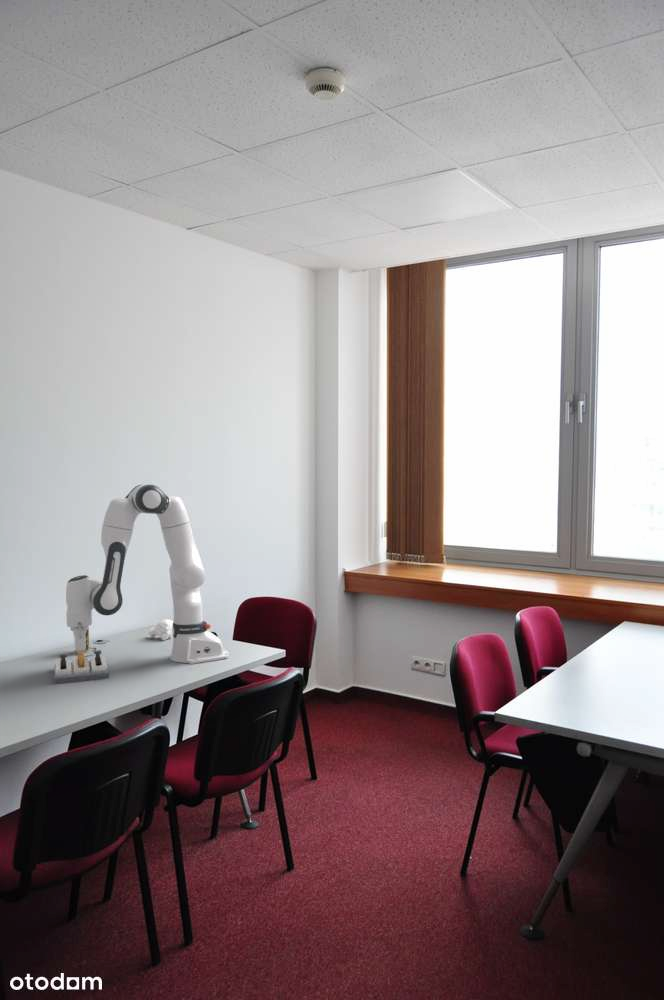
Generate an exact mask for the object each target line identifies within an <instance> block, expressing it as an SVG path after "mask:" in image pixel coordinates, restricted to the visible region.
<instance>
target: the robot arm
mask: <svg viewBox="0 0 664 1000" xmlns="http://www.w3.org/2000/svg"><path fill="white" fill-rule="evenodd" d="M141 514H149V515H150V514H155V515H156V517H157V518H158V521H159V525H160V530H161V532H162V536H163V540H164V545H165V549H166V550H167V551H166V552H167V553H168V557H169V558H170V561H171V563H170V565H169V579H170V580H169V581H170V588H171V594H172V595H171V596H172V605H173V608H172V609H173V613H172V614H173V626H172V633H173V635H172V638H173V641H172V647H171V648H172V649H171V655H170V661H173V662H176V663H184V664H191V665H193V664H198V663H199V664H200V663H205V662H212V661H217V660H218V661H219V660H224V658H225V659H228V658H229V657H230V653H229V651H228V650H226V649H225V648H224V647H223V646H224V645H223V643H222V642H223V641H222V640H221V638H219V637H218V636H217V635H215V634H214V633H212V632H211V631H210V630H209V629H211V624H210V623H209V622H206V621H205V620H203V599H202V594H201V589H200V587H202V586H203V584H204V583H205V581H206V576H207V575H206V570H205V567H204V565H203V561H202V559H201V555H200V553H199V550H198V546H197V544H196V541H195V538H194V534H193V533H194V532H193V530H192V526H191V520H190V517H189V515H188V511H187V509H186V506H185V503H184V502H183V500H182V498H181V497H179V496H176V495H167V494H166V493H165V492H164V491H163V490H162V489H161V488H160V487H159V486H157V485H154V484H151V483H142V484H138V485H136V486H135V487H133V488H132V489H131V490H130V492H129V493H128V494H126V496H125V497H117V498H113V499H111V501H110V502H109V504H108V507H107V509H106V512H105V514H104V517H103V522H102V525H101V527H102V528H101V535H100V536H101V538H100V539H101V540H100V542H101V546H102V549H103V552H104V556H105V564H104V570H103V571H104V572H103V577H102V581H99V580H97V579H93V578H91V577H90V576H89V575H86V574H85V575H77V576H74V577H71V578H70V579H69V580H67V583H66V586H65V587H66V588H65V602H66V607H67V609H66V612H65V613H66V617H65V618H66V626H67V627H68V628H69V629H70V631H71V632H73V638H74V649H75V652H76V651H77V652H78V654H77V655H80V654H83V651H85V650H86V632H85V630H88V629H90V628H89V627H90V626H91V625H93V609H94V610H95V611H96V612H97V613H98V614H100V615H103V616H111V615H114V614H116V613H117V612H119V611H120V609H121V608H122V605H123V602H124V601H123V599H124V598H123V596H122V591H121V583H122V577H123V573H124V572H123V571H124V565H125V559H126V555H127V552H128V549H129V546H130V542H131V540H132V536H133V531H134V527H135V522H136V519H137V517H138V516H139V515H141ZM77 652H76V653H77ZM77 659H79V658H77Z"/></svg>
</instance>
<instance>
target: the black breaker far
mask: <svg viewBox="0 0 664 1000" xmlns="http://www.w3.org/2000/svg"><path fill="white" fill-rule="evenodd" d="M66 658H67V653H59V659H60V660H61V668H64V667H65V660H66Z"/></svg>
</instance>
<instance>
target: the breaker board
mask: <svg viewBox="0 0 664 1000" xmlns="http://www.w3.org/2000/svg"><path fill="white" fill-rule="evenodd" d="M109 672H110V671H109V669H108V664H107V661H106V656H105V655H100V664H96V656H89V658H88V657H84V658H83V667H79V659H78V658H73V659H72V661H71V658H70V659H65V667H64V668H61V659H60V660H55V664H54V684H55V685H57V684H58V685H59V684H68V683H76V682H77V683H78V682H86V681H97V680H104V679H109V678H110V673H109Z"/></svg>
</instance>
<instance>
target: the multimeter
mask: <svg viewBox="0 0 664 1000" xmlns="http://www.w3.org/2000/svg"><path fill="white" fill-rule="evenodd" d="M89 629H90V628H89ZM89 629H88V630H85V632H86V650H85V651H83V654H84V658H87V657H92V656H94V655H95V654H94V653H90V654H87V655H85V653H87V652H89V651H90V631H89ZM92 651H93V652H94V651H97V648H96V647H94V649H92ZM75 652H76V655H78V652H77V651H75Z"/></svg>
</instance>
